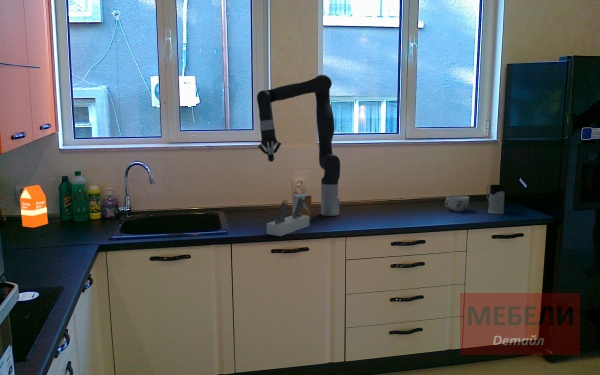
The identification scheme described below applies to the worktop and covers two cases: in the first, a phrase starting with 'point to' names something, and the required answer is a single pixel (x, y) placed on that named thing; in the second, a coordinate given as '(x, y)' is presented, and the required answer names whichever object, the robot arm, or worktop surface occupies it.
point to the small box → (306, 205)
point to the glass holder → (496, 199)
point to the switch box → (287, 225)
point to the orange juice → (33, 207)
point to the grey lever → (299, 205)
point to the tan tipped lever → (282, 210)
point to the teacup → (457, 202)
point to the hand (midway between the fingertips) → (271, 161)
